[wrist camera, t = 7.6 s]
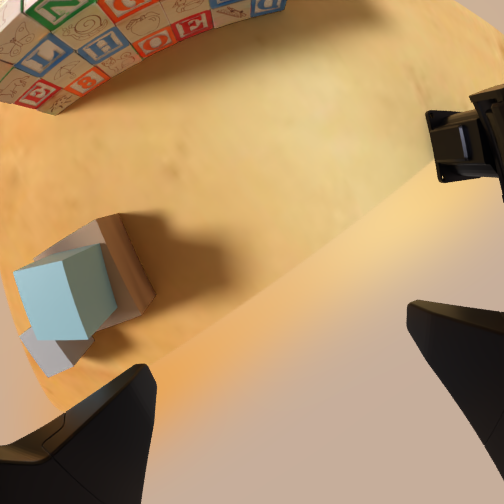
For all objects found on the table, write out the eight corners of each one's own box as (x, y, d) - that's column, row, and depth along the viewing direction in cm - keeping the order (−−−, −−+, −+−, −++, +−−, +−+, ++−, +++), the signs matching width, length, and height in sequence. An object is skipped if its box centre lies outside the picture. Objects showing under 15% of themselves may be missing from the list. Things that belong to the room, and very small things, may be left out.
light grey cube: (68, 299, 21) (41, 319, 16) (95, 340, 22) (73, 366, 17) (44, 316, 21) (18, 336, 17) (69, 353, 22) (48, 377, 18)
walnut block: (119, 212, 20) (95, 219, 16) (157, 293, 21) (141, 315, 17) (60, 247, 20) (33, 258, 16) (94, 318, 21) (74, 339, 18)
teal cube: (99, 242, 16) (61, 260, 12) (117, 307, 17) (88, 339, 13) (52, 254, 16) (12, 271, 12) (69, 312, 17) (37, 340, 13)
